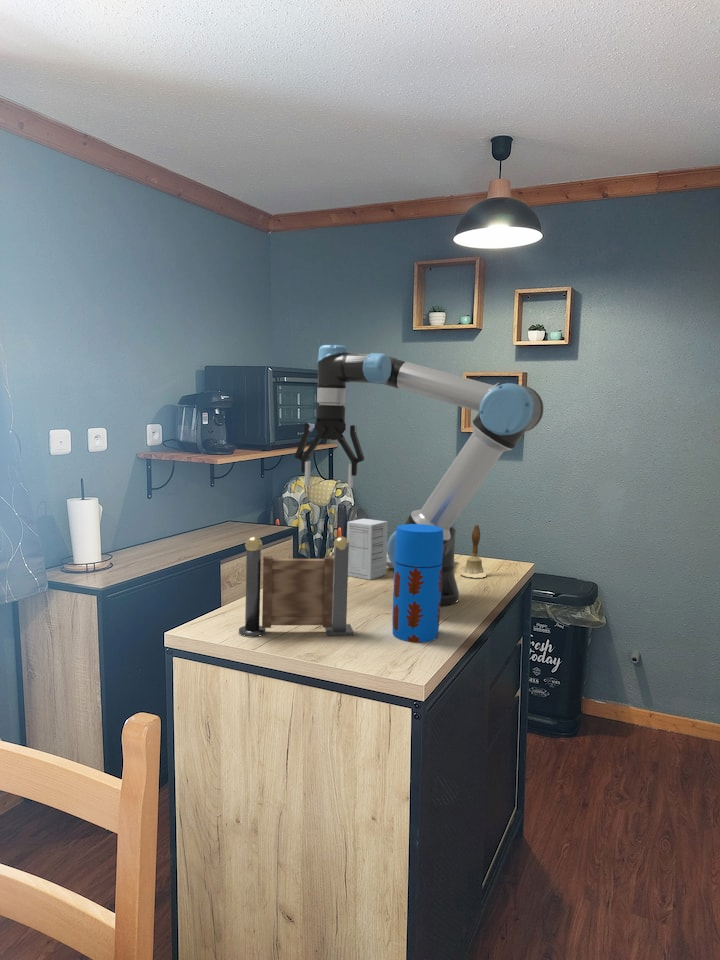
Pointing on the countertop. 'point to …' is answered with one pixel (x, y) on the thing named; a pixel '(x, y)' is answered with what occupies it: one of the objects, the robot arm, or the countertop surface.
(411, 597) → the thermos
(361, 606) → the countertop surface
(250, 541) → the hinge post
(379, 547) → the supplement box
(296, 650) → the countertop surface
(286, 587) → the walnut gate
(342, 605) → the post
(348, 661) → the countertop surface
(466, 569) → the hand bell
